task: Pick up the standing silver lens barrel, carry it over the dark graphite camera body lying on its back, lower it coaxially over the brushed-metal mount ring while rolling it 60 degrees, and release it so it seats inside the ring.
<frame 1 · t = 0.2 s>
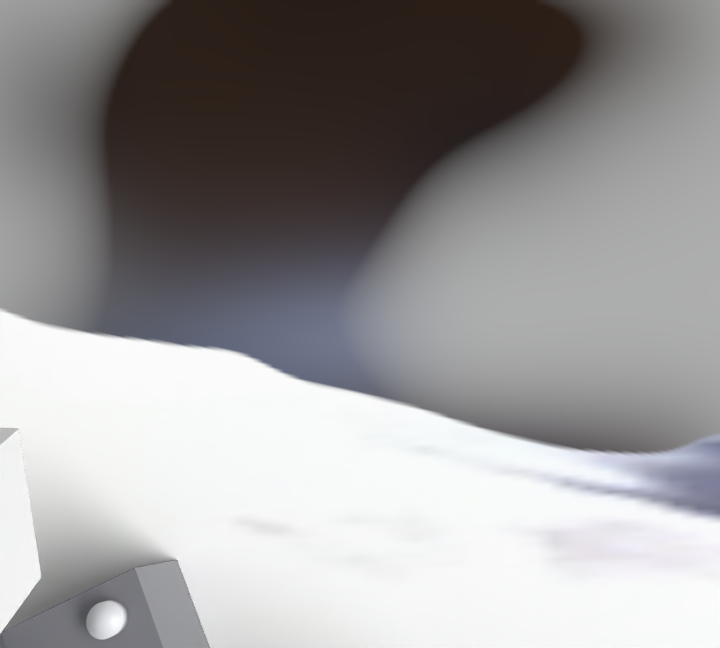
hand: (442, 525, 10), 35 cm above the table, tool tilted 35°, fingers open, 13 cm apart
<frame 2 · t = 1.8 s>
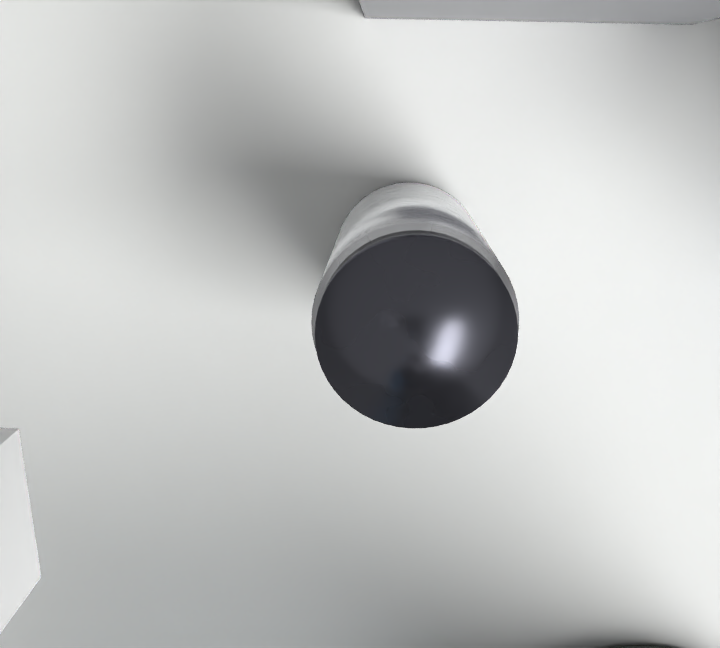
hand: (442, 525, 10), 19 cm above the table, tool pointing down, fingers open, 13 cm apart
lens: (407, 255, 28), on the table
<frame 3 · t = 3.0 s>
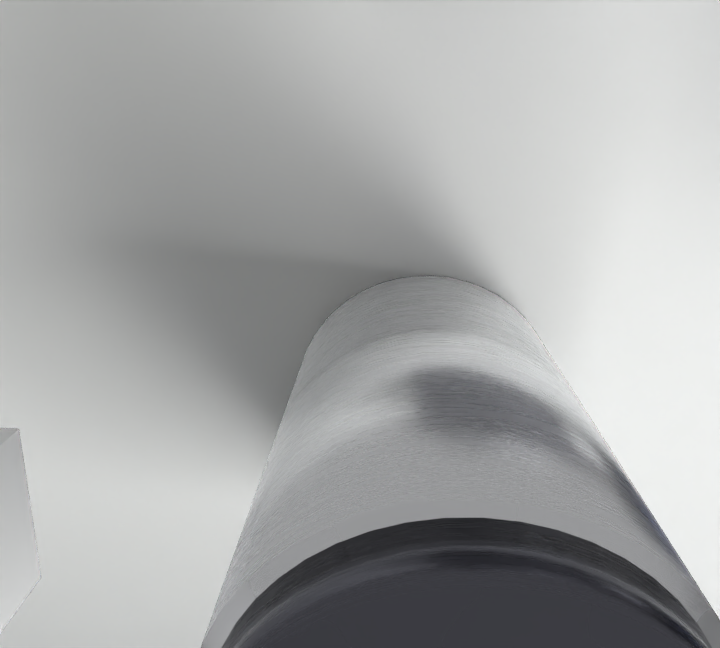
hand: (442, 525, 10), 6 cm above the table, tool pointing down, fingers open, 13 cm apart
lens: (424, 399, 16), on the table
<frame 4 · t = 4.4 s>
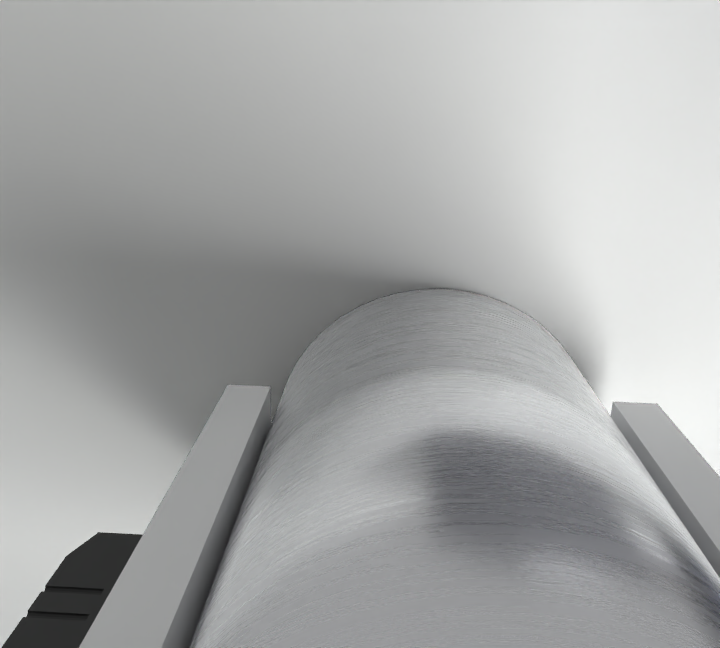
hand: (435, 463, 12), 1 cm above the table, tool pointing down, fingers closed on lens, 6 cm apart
lens: (432, 439, 13), on the table, touching gripper
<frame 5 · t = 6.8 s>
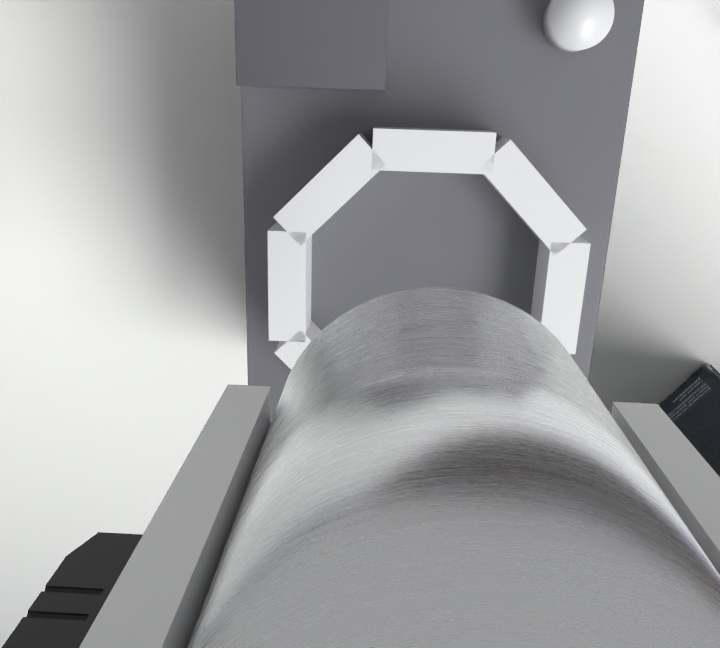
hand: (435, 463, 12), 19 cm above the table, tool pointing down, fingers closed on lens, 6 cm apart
camera body: (417, 191, 30), on the table
lens: (432, 438, 13), point 19 cm above the table, touching gripper
when the fingers open (11 cm above the table, at t = 9.1 s): lens drops 2 cm, resting on camera body.
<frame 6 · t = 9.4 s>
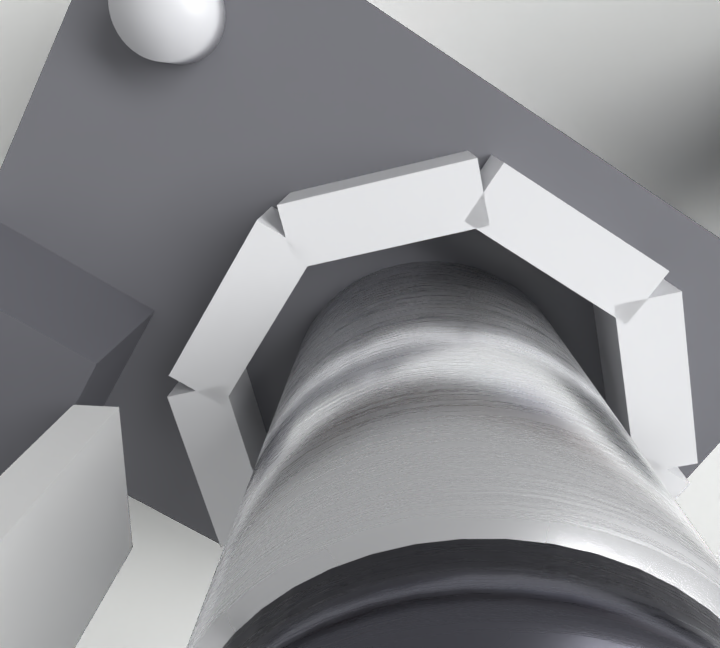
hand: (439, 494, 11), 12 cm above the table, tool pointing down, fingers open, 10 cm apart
camera body: (364, 262, 22), on the table
lens: (428, 394, 15), point 8 cm above the table, touching camera body
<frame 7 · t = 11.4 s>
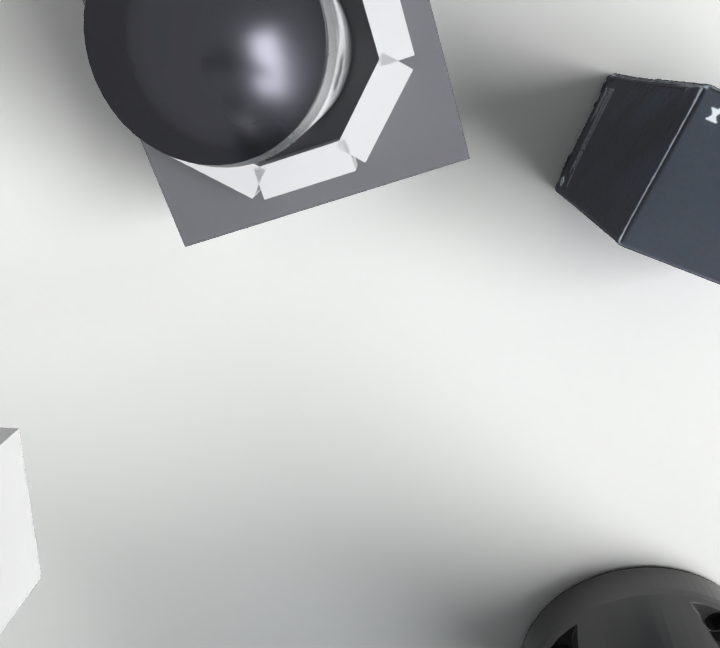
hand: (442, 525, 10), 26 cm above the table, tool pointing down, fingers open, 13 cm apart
small box: (670, 173, 34), on the table
camera body: (284, 9, 32), on the table
lens: (271, 48, 25), point 8 cm above the table, touching camera body
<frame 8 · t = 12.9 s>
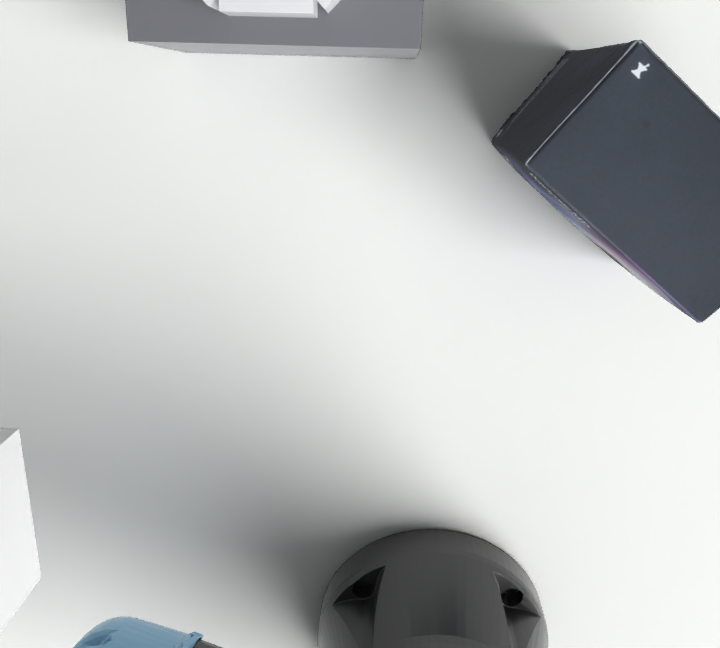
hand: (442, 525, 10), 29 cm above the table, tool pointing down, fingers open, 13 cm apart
small box: (595, 163, 36), on the table
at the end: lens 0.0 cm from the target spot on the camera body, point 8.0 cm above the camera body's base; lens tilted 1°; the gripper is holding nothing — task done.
